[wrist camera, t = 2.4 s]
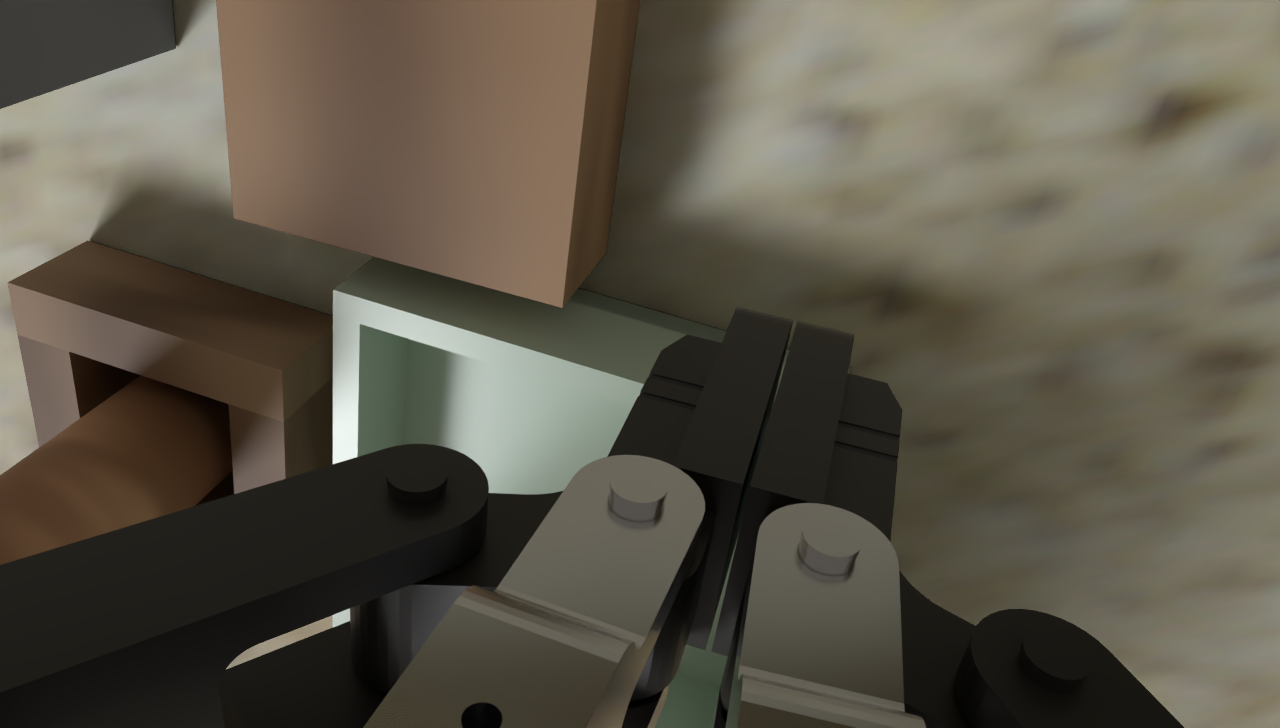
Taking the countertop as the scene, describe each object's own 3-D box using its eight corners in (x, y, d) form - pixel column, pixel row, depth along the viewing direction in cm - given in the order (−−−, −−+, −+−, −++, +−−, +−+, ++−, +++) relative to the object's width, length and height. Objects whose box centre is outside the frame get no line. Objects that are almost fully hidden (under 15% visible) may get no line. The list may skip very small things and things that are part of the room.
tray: (851, 367, 21) (834, 442, 19) (744, 694, 27) (721, 783, 24) (400, 236, 23) (333, 289, 20) (386, 569, 28) (332, 642, 26)
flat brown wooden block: (659, -112, 18) (607, -92, 16) (611, 246, 22) (562, 308, 19) (304, -181, 19) (202, -173, 17) (315, 169, 23) (233, 218, 21)
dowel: (273, 362, 26) (-20, 606, 18) (277, 462, 27) (10, 722, 20) (161, 327, 26) (-170, 549, 19) (172, 427, 28) (-128, 668, 20)
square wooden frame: (342, 319, 24) (282, 370, 22) (340, 537, 28) (288, 598, 26) (87, 240, 25) (7, 282, 23) (119, 460, 29) (52, 514, 27)
